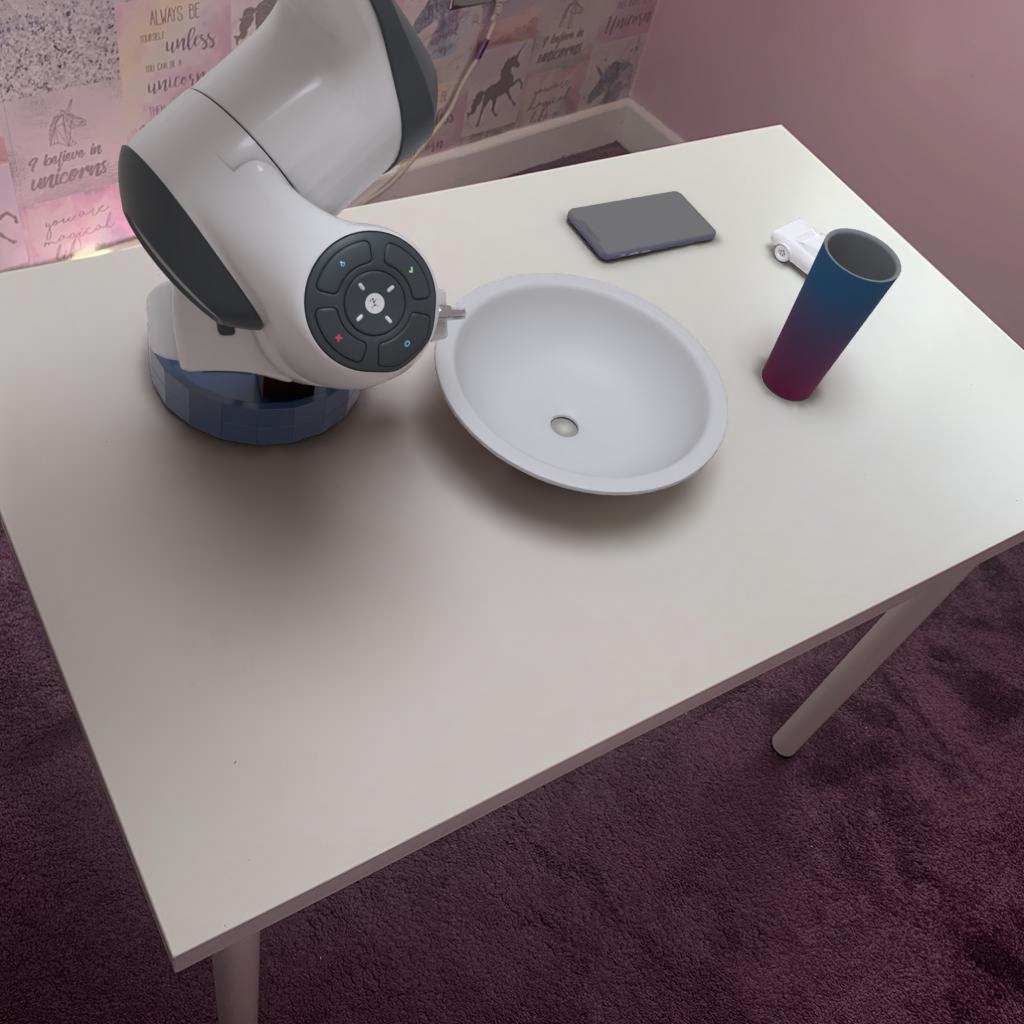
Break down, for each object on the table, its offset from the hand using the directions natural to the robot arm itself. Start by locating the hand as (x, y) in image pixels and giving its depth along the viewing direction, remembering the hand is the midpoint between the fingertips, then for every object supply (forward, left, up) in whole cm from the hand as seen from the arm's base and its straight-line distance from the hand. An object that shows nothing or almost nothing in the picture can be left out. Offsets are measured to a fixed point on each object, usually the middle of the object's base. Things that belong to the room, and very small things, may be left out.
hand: (286, 322), depth 80 cm
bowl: (-2, +1, -7) cm, 7 cm away
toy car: (+57, +12, -7) cm, 59 cm away
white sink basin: (+22, -7, -7) cm, 24 cm away
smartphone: (+39, +19, -7) cm, 44 cm away
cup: (+46, -3, -7) cm, 47 cm away
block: (0, -1, -5) cm, 5 cm away
